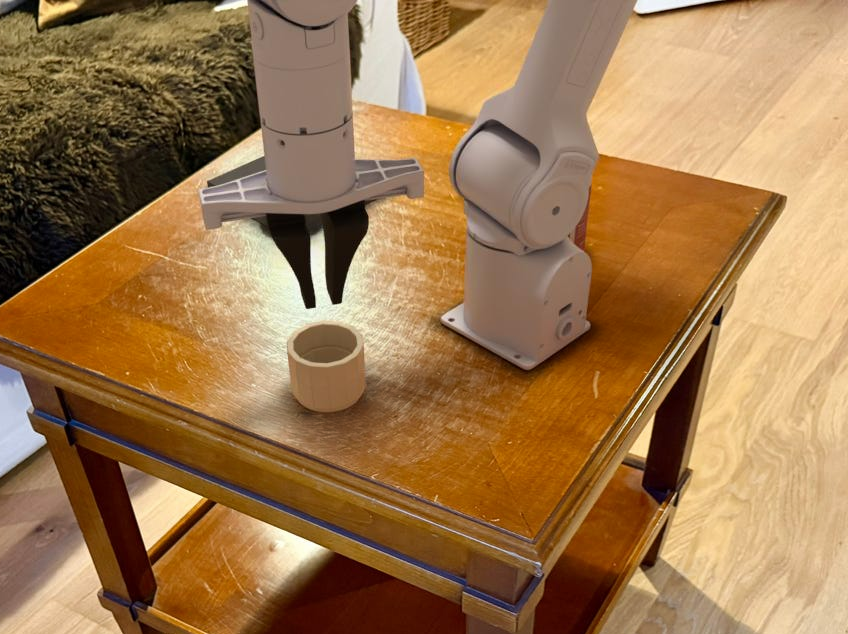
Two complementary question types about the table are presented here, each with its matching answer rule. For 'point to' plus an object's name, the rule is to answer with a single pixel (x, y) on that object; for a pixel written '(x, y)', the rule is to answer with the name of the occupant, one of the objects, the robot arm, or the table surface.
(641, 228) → the table surface
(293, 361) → the beige hollow cylinder
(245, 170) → the scale
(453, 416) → the table surface
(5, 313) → the table surface
